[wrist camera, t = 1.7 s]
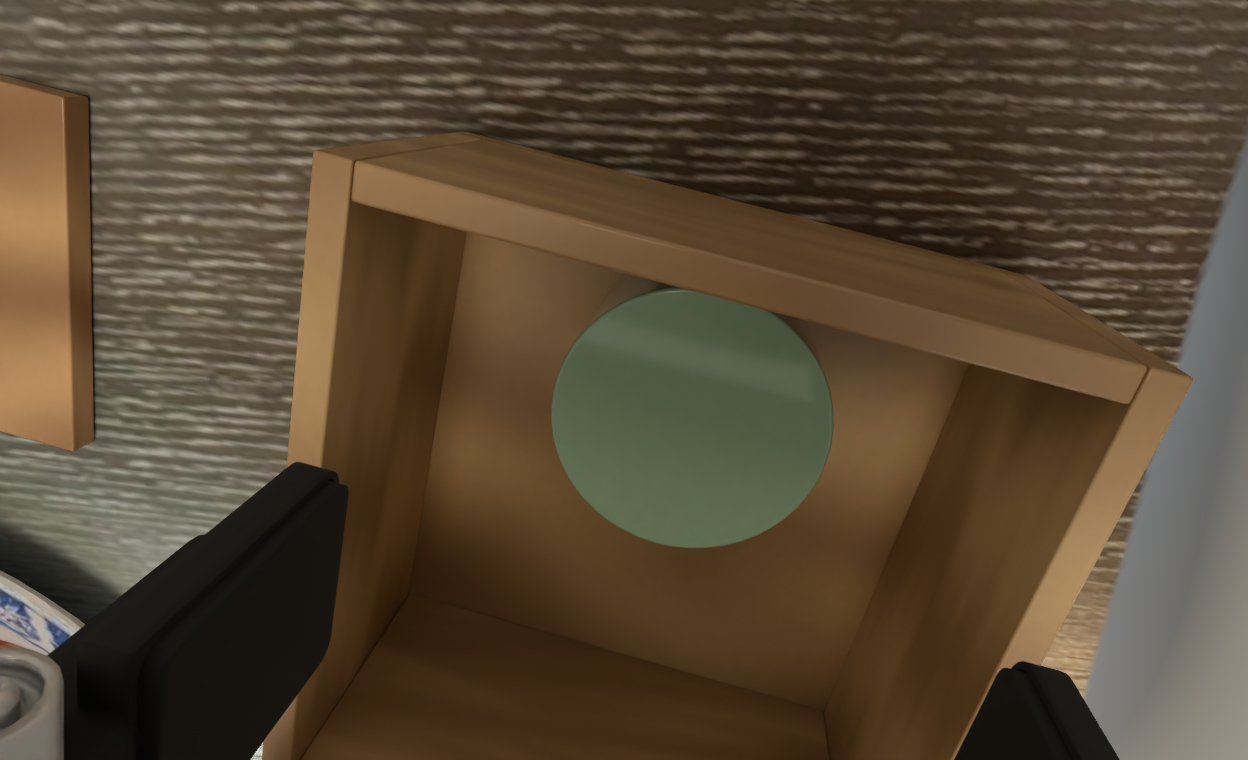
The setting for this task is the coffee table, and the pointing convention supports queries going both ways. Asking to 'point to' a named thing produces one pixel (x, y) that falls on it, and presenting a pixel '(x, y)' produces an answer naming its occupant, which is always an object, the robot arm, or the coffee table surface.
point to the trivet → (45, 265)
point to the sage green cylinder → (691, 415)
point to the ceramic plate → (32, 618)
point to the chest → (655, 573)
